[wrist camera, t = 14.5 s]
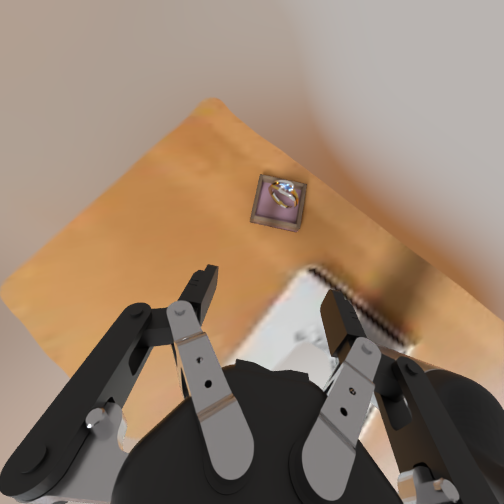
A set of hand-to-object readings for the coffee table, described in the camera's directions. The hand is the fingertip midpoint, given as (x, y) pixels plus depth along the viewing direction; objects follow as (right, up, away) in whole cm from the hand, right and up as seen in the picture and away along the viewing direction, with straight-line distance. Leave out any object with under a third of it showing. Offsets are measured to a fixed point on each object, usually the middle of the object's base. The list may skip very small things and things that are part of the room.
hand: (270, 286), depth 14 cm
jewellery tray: (+5, +13, +32) cm, 35 cm away
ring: (+5, +13, +31) cm, 34 cm away
